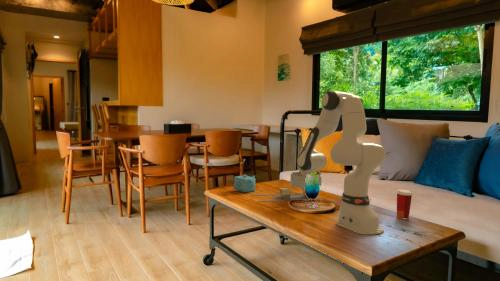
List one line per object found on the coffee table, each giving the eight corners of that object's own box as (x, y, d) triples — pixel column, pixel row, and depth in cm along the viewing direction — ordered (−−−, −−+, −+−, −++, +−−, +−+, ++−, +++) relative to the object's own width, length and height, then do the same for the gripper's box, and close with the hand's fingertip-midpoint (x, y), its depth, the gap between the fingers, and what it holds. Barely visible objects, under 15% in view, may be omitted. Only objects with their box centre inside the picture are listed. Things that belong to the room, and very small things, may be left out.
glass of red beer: (409, 216, 175) (411, 190, 174) (412, 220, 168) (414, 193, 167) (393, 214, 177) (395, 188, 176) (395, 218, 170) (397, 191, 169)
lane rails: (320, 200, 202) (320, 198, 201) (257, 203, 190) (257, 201, 190) (309, 194, 215) (309, 193, 215) (250, 197, 203) (250, 195, 203)
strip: (317, 199, 203) (317, 190, 202) (277, 201, 195) (278, 191, 195) (308, 195, 213) (309, 186, 213) (270, 196, 206) (271, 187, 205)
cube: (290, 198, 201) (290, 190, 200) (282, 198, 199) (283, 190, 199) (287, 196, 206) (287, 188, 205) (279, 196, 204) (279, 188, 204)
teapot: (226, 191, 217) (227, 174, 216) (247, 188, 229) (248, 171, 228) (242, 196, 205) (243, 178, 204) (263, 192, 217) (264, 175, 216)
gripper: (293, 173, 199) (292, 195, 200) (323, 172, 205) (322, 194, 206) (288, 171, 205) (287, 193, 206) (318, 170, 211) (317, 192, 212)
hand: (305, 193), depth 206 cm, fingers closed
